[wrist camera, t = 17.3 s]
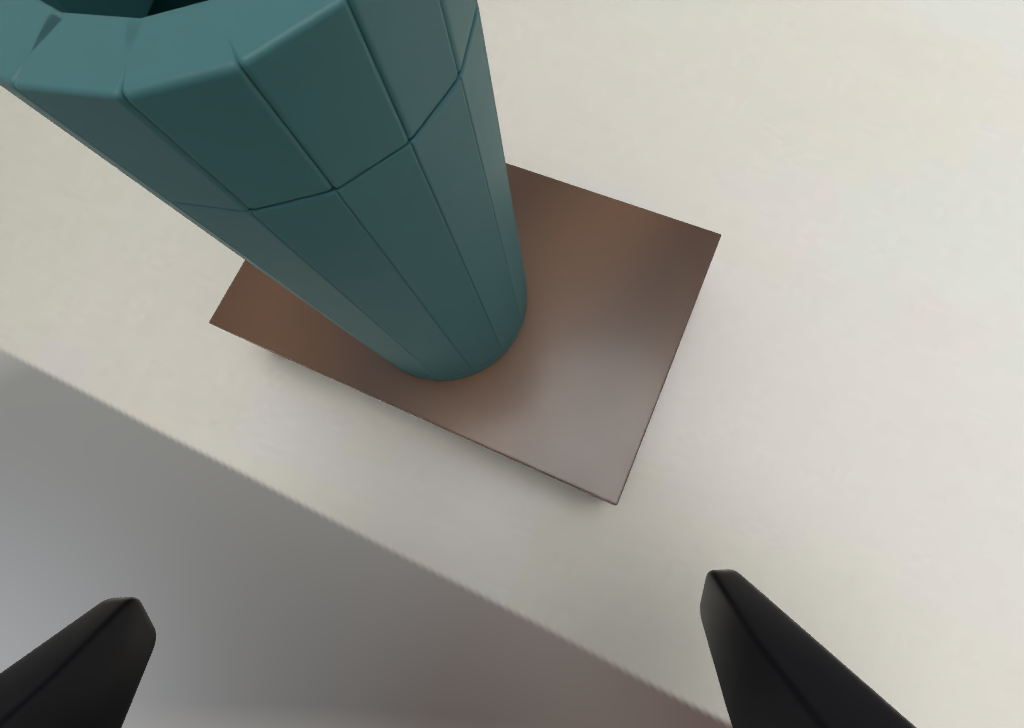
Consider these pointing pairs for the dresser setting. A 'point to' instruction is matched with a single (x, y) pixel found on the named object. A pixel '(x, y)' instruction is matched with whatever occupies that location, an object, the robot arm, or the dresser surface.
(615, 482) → the brown wooden pedestal
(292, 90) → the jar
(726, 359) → the dresser surface
